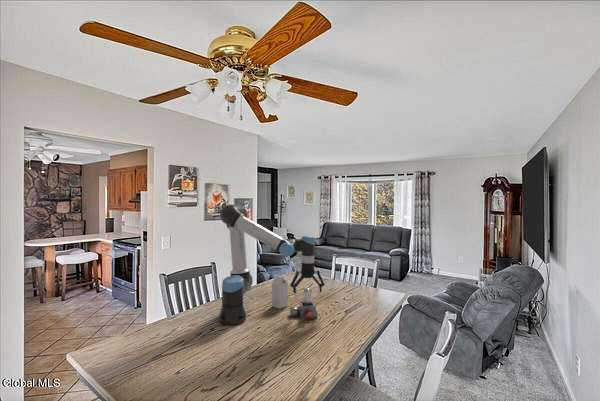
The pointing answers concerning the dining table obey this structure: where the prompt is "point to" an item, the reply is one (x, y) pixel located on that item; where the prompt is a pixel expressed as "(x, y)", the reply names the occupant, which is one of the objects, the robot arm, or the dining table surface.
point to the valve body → (304, 311)
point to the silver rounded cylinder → (307, 296)
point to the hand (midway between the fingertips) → (307, 298)
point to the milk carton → (279, 292)
